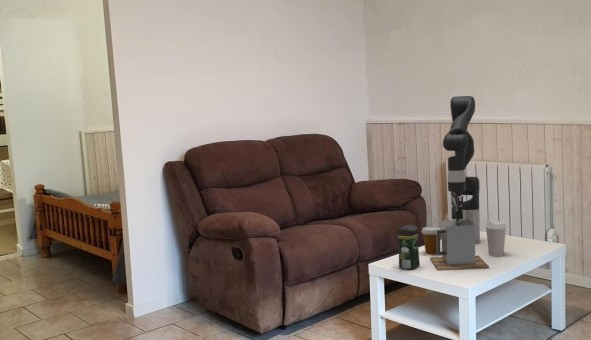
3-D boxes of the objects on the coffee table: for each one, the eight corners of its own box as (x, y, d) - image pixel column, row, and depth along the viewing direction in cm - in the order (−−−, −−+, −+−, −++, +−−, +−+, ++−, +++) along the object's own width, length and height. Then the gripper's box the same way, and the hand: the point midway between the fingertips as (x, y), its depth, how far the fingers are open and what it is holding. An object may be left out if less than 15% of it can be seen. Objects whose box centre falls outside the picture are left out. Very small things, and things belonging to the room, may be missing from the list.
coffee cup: (484, 251, 290) (483, 220, 288) (505, 251, 288) (505, 220, 286) (486, 257, 281) (485, 224, 279) (508, 257, 279) (508, 224, 277)
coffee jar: (405, 263, 278) (404, 222, 276) (422, 265, 273) (420, 224, 271) (395, 268, 270) (394, 227, 268) (412, 270, 266) (411, 228, 264)
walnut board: (430, 259, 282) (429, 257, 282) (478, 257, 281) (478, 255, 281) (437, 270, 264) (437, 268, 264) (489, 268, 263) (489, 266, 263)
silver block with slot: (435, 258, 279) (434, 220, 277) (469, 257, 278) (468, 219, 276) (440, 266, 267) (439, 226, 265) (476, 264, 266) (475, 225, 264)
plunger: (446, 249, 276) (445, 206, 274) (465, 248, 276) (464, 205, 274) (450, 254, 268) (449, 209, 266) (470, 253, 268) (469, 208, 265)
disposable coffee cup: (443, 255, 287) (442, 230, 286) (422, 255, 289) (421, 230, 288) (442, 250, 297) (441, 226, 295) (422, 250, 299) (421, 226, 297)
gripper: (469, 182, 261) (469, 220, 263) (461, 177, 275) (462, 214, 277) (451, 183, 261) (452, 221, 263) (444, 178, 276) (445, 214, 278)
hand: (457, 217), depth 270 cm, fingers open, 7 cm apart
